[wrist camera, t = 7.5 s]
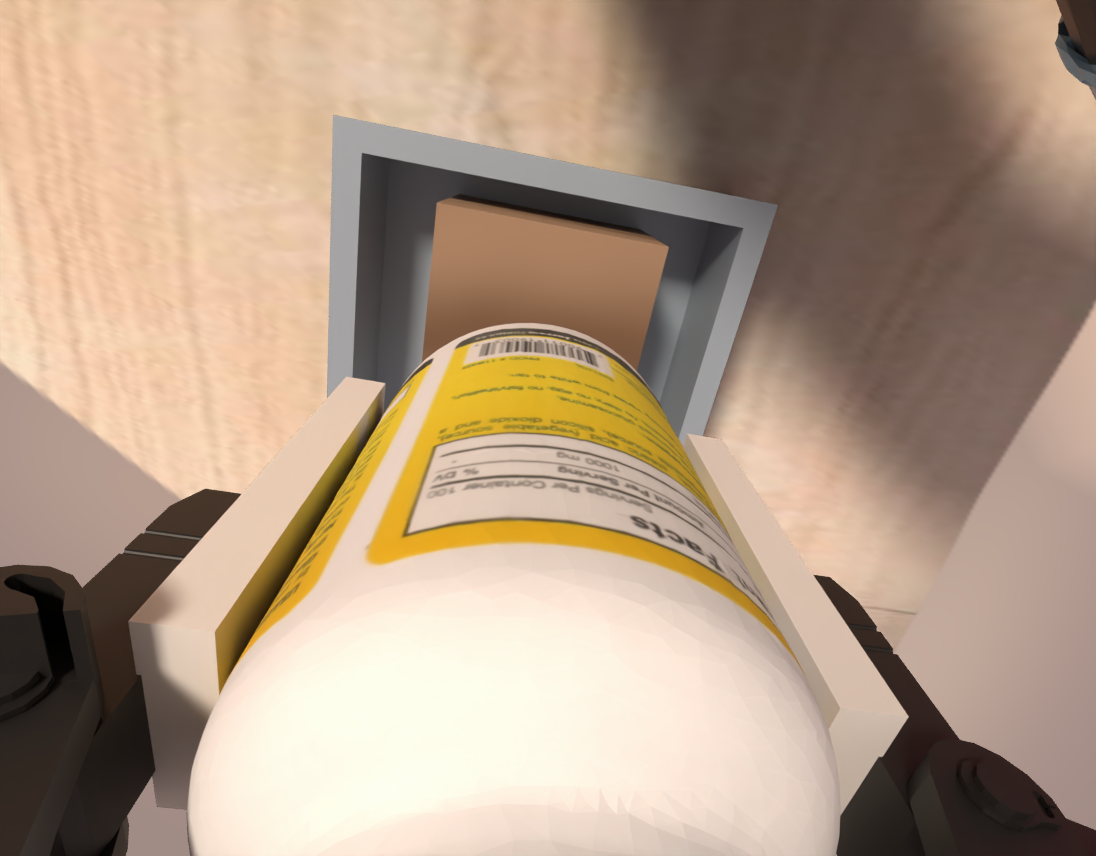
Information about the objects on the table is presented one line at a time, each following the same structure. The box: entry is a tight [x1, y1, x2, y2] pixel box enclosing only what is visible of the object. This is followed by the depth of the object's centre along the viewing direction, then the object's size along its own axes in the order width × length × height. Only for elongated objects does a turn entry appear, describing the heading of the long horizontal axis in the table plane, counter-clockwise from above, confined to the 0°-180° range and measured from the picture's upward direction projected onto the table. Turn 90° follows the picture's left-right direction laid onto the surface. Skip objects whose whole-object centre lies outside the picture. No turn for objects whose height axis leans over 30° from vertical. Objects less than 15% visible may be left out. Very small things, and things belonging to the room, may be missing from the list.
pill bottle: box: [187, 323, 841, 856], centre depth 8 cm, size 6×6×11 cm
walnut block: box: [422, 194, 669, 371], centre depth 24 cm, size 8×8×6 cm
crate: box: [327, 115, 778, 446], centre depth 26 cm, size 20×16×5 cm
